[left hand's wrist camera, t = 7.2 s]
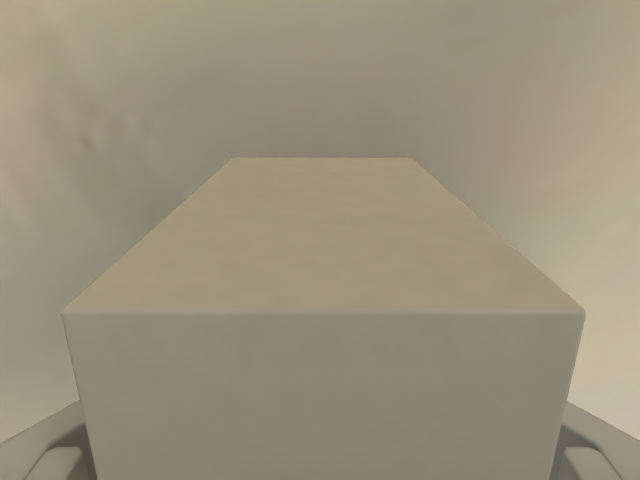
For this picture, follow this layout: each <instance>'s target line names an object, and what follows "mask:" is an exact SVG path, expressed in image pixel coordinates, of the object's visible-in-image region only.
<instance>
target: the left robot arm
mask: <svg viewBox="0 0 640 480" xmlns="http://www.w3.org/2000/svg"><path fill="white" fill-rule="evenodd" d="M0 480H98V479H97V475H96V470H95V466H94V461H93V457H92V452H91V447H90V443H89V438H88V434H87V429H86V425H85V420H84V416H83V411H82V406H81V402H80V400H79V401H77V402H75V403H73V404H71V405H70V406H68V407H66V408H64V409H62V410H61V411H59V412H57V413H55V414H53V415H52V416H50V417H48V418H46V419H44V420H42V421H41V422H39V423H37V424H35V425H33V426H32V427H30V428H28V429H26V430H24V431H22V432H21V433H19V434H17V435H15V436H13V437H12V438H10V439H8V440H6V441H4V442H3V443H1V444H0ZM549 480H640V441H639V440H637V439H636V438H634V437H632V436H630V435H628V434H626V433H625V432H623V431H621V430H619V429H617V428H615V427H614V426H612V425H610V424H608V423H606V422H604V421H603V420H601V419H599V418H597V417H595V416H594V415H592V414H590V413H588V412H586V411H584V410H583V409H581V408H579V407H577V406H575V405H573V404H572V403H570V402H568V401H566V406H565V410H564V415H563V419H562V423H561V428H560V432H559V437H558V441H557V446H556V450H555V455H554V459H553V464H552V468H551V473H550V477H549Z"/></svg>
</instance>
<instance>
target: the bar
mask: <svg viewBox="0 0 640 480" xmlns="http://www.w3.org/2000/svg"><path fill="white" fill-rule="evenodd" d="M61 315H62V320H63V325H64V329H65V334H66V338H67V343H68V347H69V352H70V356H71V361H72V366H73V370H74V375H75V379H76V384H77V388H78V393H79V397H80V402H81V406H82V411H83V416H84V420H85V425H86V429H87V434H88V438H89V443H90V447H91V452H92V457H93V461H94V466H95V470H96V475H97V479H98V480H549V477H550V473H551V468H552V464H553V459H554V455H555V450H556V446H557V441H558V437H559V432H560V428H561V423H562V419H563V415H564V410H565V406H566V401H567V397H568V392H569V388H570V383H571V379H572V374H573V370H574V365H575V361H576V356H577V352H578V348H579V343H580V339H581V334H582V330H583V325H584V321H585V316H586V313H585V310H584V308H582V307H581V306H580V305H579V304H578V303H577V302H576V301H574V300H573V299H572V298H571V297H570V296H569V295H568V294H566V293H565V292H564V291H563V290H562V289H561V288H560V287H558V286H557V285H556V284H555V283H554V282H553V281H552V280H550V279H549V278H548V277H547V276H546V275H545V274H544V273H542V272H541V271H540V270H539V269H538V268H537V267H536V266H534V265H533V264H532V263H531V262H530V261H529V260H528V259H526V258H525V257H524V256H523V255H522V254H521V253H520V252H518V251H517V250H516V249H515V248H514V247H513V246H512V245H510V244H509V243H508V242H507V241H506V240H505V239H504V238H502V237H501V236H500V235H499V234H498V233H497V232H496V231H494V230H493V229H492V228H491V227H490V226H489V225H488V224H487V223H485V222H484V221H483V220H482V219H481V218H480V217H479V216H477V215H476V214H475V213H474V212H473V211H472V210H471V209H469V208H468V207H467V206H466V205H465V204H464V203H463V202H461V201H460V200H459V199H458V198H457V197H456V196H455V195H453V194H452V193H451V192H450V191H449V190H448V189H447V188H445V187H444V186H443V185H442V184H441V183H440V182H439V181H437V180H436V179H435V178H434V177H433V176H432V175H431V174H429V173H428V172H427V171H426V170H425V169H424V168H423V167H421V166H420V165H419V164H418V163H417V162H416V161H415V160H413V159H412V158H410V157H377V158H232V159H231V160H229V161H228V162H227V163H226V164H225V165H224V166H223V167H222V168H220V169H219V170H218V171H217V172H216V173H215V174H214V175H213V176H211V177H210V178H209V179H208V180H207V181H206V182H205V183H204V184H202V185H201V186H200V187H199V188H198V189H197V190H196V191H195V192H193V193H192V194H191V195H190V196H189V197H188V198H187V199H186V200H185V201H183V202H182V203H181V204H180V205H179V206H178V207H177V208H176V209H174V210H173V211H172V212H171V213H170V214H169V215H168V216H167V217H165V218H164V219H163V220H162V221H161V222H160V223H159V224H158V225H156V226H155V227H154V228H153V229H152V230H151V231H150V232H149V233H147V234H146V235H145V236H144V237H143V238H142V239H141V240H140V241H138V242H137V243H136V244H135V245H134V246H133V247H132V248H131V249H129V250H128V251H127V252H126V253H125V254H124V255H123V256H122V257H121V258H119V259H118V260H117V261H116V262H115V263H114V264H113V265H112V266H110V267H109V268H108V269H107V270H106V271H105V272H104V273H103V274H101V275H100V276H99V277H98V278H97V279H96V280H95V281H94V282H92V283H91V284H90V285H89V286H88V287H87V288H86V289H85V290H83V291H82V292H81V293H80V294H79V295H78V296H77V297H76V298H74V299H73V300H72V301H71V302H70V303H69V304H68V305H67V306H65V307H64V308H63V310H62V314H61Z"/></svg>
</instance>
